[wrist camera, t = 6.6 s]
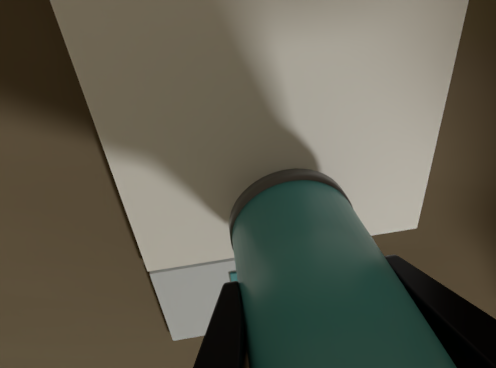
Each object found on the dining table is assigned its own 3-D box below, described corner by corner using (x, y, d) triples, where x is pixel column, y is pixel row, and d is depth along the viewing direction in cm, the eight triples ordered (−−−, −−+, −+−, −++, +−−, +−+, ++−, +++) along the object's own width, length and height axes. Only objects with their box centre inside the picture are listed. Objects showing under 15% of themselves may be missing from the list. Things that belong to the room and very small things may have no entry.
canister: (344, 255, 13) (556, 664, 5) (236, 272, 13) (296, 725, 5) (352, 159, 11) (736, 628, 3) (220, 179, 10) (288, 739, 3)
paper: (411, 222, 14) (416, 228, 14) (148, 264, 14) (147, 271, 13) (548, -415, 6) (567, -436, 6) (-80, -383, 6) (-97, -406, 5)
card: (317, 309, 17) (319, 317, 16) (173, 335, 16) (173, 342, 16) (318, 241, 14) (321, 248, 14) (150, 268, 14) (149, 276, 14)
